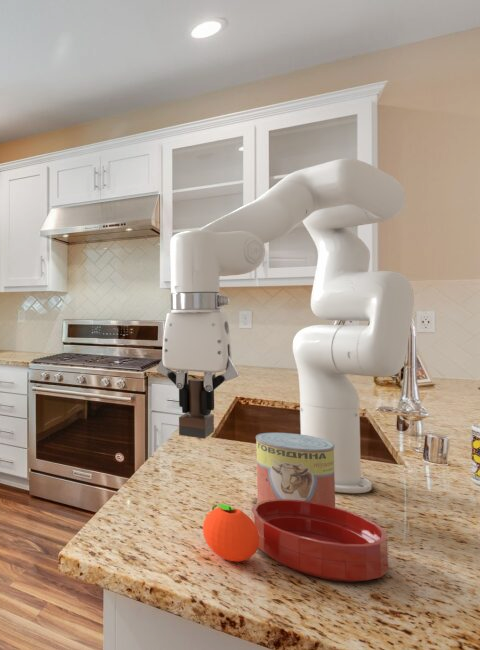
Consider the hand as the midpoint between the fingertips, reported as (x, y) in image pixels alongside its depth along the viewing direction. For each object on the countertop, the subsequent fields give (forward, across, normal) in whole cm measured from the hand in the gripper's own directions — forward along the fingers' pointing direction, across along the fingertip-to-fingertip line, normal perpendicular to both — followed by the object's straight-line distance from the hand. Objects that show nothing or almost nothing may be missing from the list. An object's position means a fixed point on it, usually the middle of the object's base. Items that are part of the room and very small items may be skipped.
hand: (196, 412), depth 80 cm
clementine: (+18, -7, +12) cm, 22 cm away
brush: (+4, 0, 0) cm, 4 cm away
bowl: (+18, -16, +4) cm, 24 cm away
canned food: (+18, -12, -13) cm, 25 cm away
